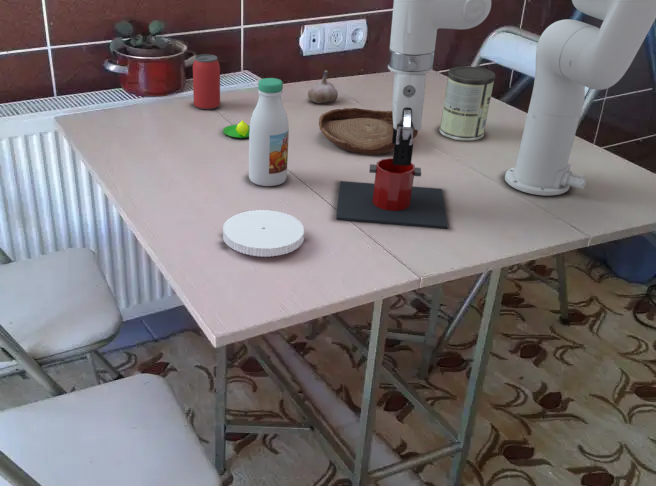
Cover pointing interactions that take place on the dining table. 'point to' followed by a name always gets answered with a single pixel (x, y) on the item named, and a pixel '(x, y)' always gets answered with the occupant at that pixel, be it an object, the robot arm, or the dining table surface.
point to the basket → (360, 130)
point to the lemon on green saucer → (238, 130)
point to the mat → (421, 211)
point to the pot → (393, 184)
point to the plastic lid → (263, 233)
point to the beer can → (206, 81)
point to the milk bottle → (268, 136)
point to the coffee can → (466, 102)
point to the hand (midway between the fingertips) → (401, 153)
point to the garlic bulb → (323, 91)
